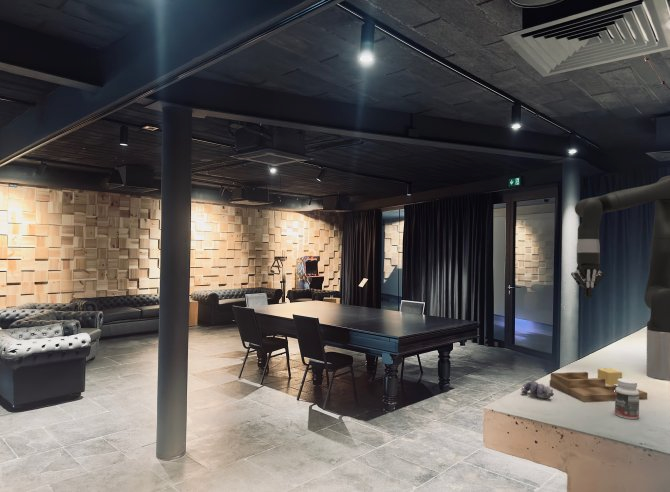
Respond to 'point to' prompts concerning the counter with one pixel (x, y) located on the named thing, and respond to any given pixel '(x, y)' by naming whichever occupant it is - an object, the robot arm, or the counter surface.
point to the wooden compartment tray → (593, 392)
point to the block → (609, 375)
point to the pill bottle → (627, 399)
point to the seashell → (537, 390)
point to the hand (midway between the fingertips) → (587, 297)
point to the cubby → (576, 380)
